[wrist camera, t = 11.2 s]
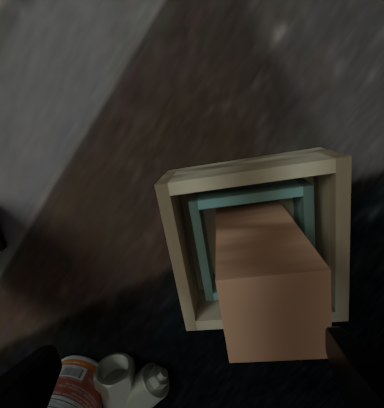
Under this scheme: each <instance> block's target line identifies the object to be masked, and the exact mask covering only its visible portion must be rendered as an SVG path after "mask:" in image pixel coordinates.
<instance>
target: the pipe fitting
mask: <svg viewBox="0 0 384 408" xmlns="http://www.w3.org/2000/svg"><path fill="white" fill-rule="evenodd" d="M135 371H136V367H135V361H134V359H133V358H132V357H131V356H129V355H128V354H126V353H124V352H115V353H113V354H110V355H108V356H106V357H105V358H103V359H102V360H100V362H99V364H98V366H97V368H96V371H95V374H94V377H93V381H94V385H95V389H96V390H97V391H98V392H99V393H100V394H101V398H102V402H103V406H104V408H152V407H154V406H155V405H156V404H157V403H158V402H160V401H161V400H162V399H163V398H165V397H166V395H167V394H168V391H169V379H168V372H167V370H166V369H165V368H163V367H162V366H158V365H157V364H155V363H154V362H150V363H147V364H146V365H145V366H144V367H143V368H142V369H141V370H140V371H138V372H137V373H136V374H135Z"/></svg>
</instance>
